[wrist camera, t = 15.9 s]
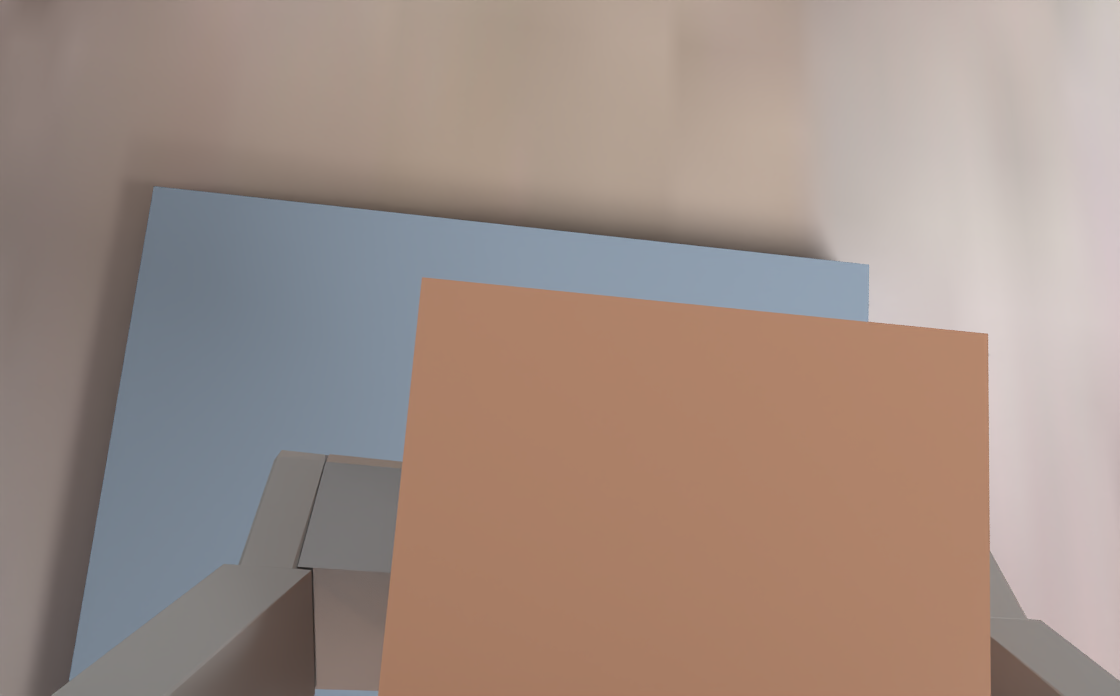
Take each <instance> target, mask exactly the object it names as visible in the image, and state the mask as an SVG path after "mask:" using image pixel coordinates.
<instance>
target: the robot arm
mask: <svg viewBox="0 0 1120 696" xmlns="http://www.w3.org/2000/svg"><path fill="white" fill-rule="evenodd" d="M401 471H402V462H401V461H392V460H382V459H372V458H363V457H353V456H344V455H334V454H330V455H324V454H314V453H305V452H296V451H287V450H281V452H280V453H279V454H278V455H277V457H276V458H275V459H274V462H273V465H272V468H271V471H270V474H269V477H268V479H267V482H266V485H265V488H264V491H263V494H262V497H261V500H260V503H259V506H258V509H257V512H256V515H255V517H254V520H253V523H252V526H251V529H250V532H249V535H248V538H247V541H246V544H245V547H244V550H243V553H242V555H241V558H240V561H239V564H238V565H234V564H223V565H222V566H220V567H219V568H218V569H216V570H215V571H214V572H212V573H211V574H210V575H208V576H207V577H206V578H204V579H203V580H202V581H201V582H199V583H198V584H197V585H195V586H194V587H193V588H191V589H190V590H189V591H187V592H186V593H185V594H183V595H182V596H181V597H180V598H178V599H177V600H176V601H174V602H173V603H172V604H170V605H169V606H168V607H166V608H165V609H164V610H162V611H161V612H160V613H159V614H157V615H156V616H155V617H153V618H152V619H151V620H149V621H148V622H147V623H145V624H144V625H143V626H141V627H140V628H139V629H138V630H136V631H135V632H134V633H132V634H131V635H130V636H128V637H127V638H126V639H124V640H123V641H122V642H120V643H119V644H118V645H117V646H115V647H114V648H113V649H111V650H110V651H109V652H107V653H106V654H105V655H103V656H102V657H101V658H99V659H98V660H97V661H96V662H94V663H93V664H92V665H90V666H89V667H88V668H86V669H85V670H84V671H82V672H81V673H80V674H78V675H77V676H76V677H75V678H73V679H72V680H71V681H69V682H68V683H67V684H65V685H64V686H63V687H61V688H60V689H59V690H57V691H56V692H55V693H54V694H52V695H51V696H314V695H315V689H329V690H362V691H378V690H379V681H380V671H381V662H382V652H383V643H384V633H385V624H386V614H387V605H388V595H389V586H390V576H391V566H392V557H393V547H394V538H395V528H396V519H397V509H398V500H399V490H400V481H401ZM990 657H991V696H1120V681H1119V680H1118V679H1116V678H1115V677H1114V676H1112V675H1111V674H1110V673H1109V672H1107V671H1106V670H1105V669H1103V668H1102V667H1101V666H1099V665H1098V664H1097V663H1096V662H1094V661H1093V660H1092V659H1090V658H1089V657H1088V656H1087V655H1085V654H1084V653H1083V652H1081V651H1080V650H1079V649H1077V648H1076V647H1075V646H1074V645H1072V644H1071V643H1070V642H1068V641H1067V640H1066V639H1064V638H1063V637H1062V636H1061V635H1059V634H1058V633H1057V632H1055V631H1054V630H1053V629H1051V628H1050V627H1049V626H1048V625H1046V624H1045V623H1044V622H1042V621H1041V620H1032V619H1027V617H1026V615H1025V613H1024V612H1023V610H1022V608H1021V606H1020V604H1019V603H1018V601H1017V599H1016V597H1015V595H1014V594H1013V592H1012V590H1011V588H1010V586H1009V584H1008V583H1007V581H1006V579H1005V577H1004V575H1003V574H1002V572H1001V570H1000V568H999V566H998V564H997V563H996V561H995V559H994V557H993V555H992V554H991V552H990Z"/></svg>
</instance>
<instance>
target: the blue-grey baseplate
mask: <svg viewBox="0 0 1120 696" xmlns="http://www.w3.org/2000/svg"><path fill="white" fill-rule="evenodd" d="M422 277H425V278H435V279H445V280H455V281H465V282H475V283H485V284H495V285H505V286H515V287H525V288H535V289H545V290H555V291H565V292H575V293H585V294H595V295H605V296H615V297H625V298H635V299H645V300H655V301H665V302H675V303H685V304H695V305H705V306H715V307H725V308H735V309H745V310H755V311H765V312H775V313H785V314H795V315H805V316H815V317H825V318H835V319H845V320H855V321H865V322H868V302H869V265H867V264H858V263H849V262H840V261H831V260H822V259H812V258H803V257H794V256H785V255H776V254H767V253H758V252H749V251H740V250H730V249H721V248H712V247H703V246H694V245H685V244H676V243H667V242H658V241H649V240H639V239H630V238H621V237H612V236H603V235H594V234H585V233H576V232H567V231H558V230H548V229H539V228H530V227H521V226H512V225H503V224H494V223H485V222H476V221H466V220H457V219H448V218H439V217H430V216H421V215H412V214H403V213H394V212H385V211H375V210H366V209H357V208H348V207H339V206H330V205H321V204H312V203H303V202H293V201H284V200H275V199H266V198H257V197H248V196H239V195H230V194H221V193H212V192H202V191H193V190H184V189H175V188H166V187H157V186H154V188H153V194H152V200H151V206H150V211H149V217H148V223H147V229H146V235H145V241H144V246H143V252H142V258H141V264H140V270H139V275H138V281H137V287H136V293H135V299H134V305H133V310H132V316H131V322H130V328H129V334H128V340H127V345H126V351H125V357H124V363H123V369H122V374H121V380H120V386H119V392H118V398H117V404H116V409H115V415H114V421H113V427H112V433H111V439H110V444H109V450H108V456H107V462H106V468H105V473H104V479H103V485H102V491H101V497H100V503H99V508H98V514H97V520H96V526H95V532H94V538H93V543H92V549H91V555H90V561H89V567H88V572H87V578H86V584H85V590H84V596H83V602H82V607H81V613H80V619H79V625H78V631H77V637H76V642H75V648H74V654H73V660H72V666H71V671H70V677H69V681H71V680H72V679H73V678H75V677H76V676H77V675H78V674H80V673H81V672H82V671H84V670H85V669H86V668H88V667H89V666H90V665H92V664H93V663H94V662H96V661H97V660H98V659H99V658H101V657H102V656H103V655H105V654H106V653H107V652H109V651H110V650H111V649H113V648H114V647H115V646H117V645H118V644H119V643H120V642H122V641H123V640H124V639H126V638H127V637H128V636H130V635H131V634H132V633H134V632H135V631H136V630H138V629H139V628H140V627H141V626H143V625H144V624H145V623H147V622H148V621H149V620H151V619H152V618H153V617H155V616H156V615H157V614H159V613H160V612H161V611H162V610H164V609H165V608H166V607H168V606H169V605H170V604H172V603H173V602H174V601H176V600H177V599H178V598H180V597H181V596H182V595H183V594H185V593H186V592H187V591H189V590H190V589H191V588H193V587H194V586H195V585H197V584H198V583H199V582H201V581H202V580H203V579H204V578H206V577H207V576H208V575H210V574H211V573H212V572H214V571H215V570H216V569H218V568H219V567H220V566H222V565H223V564H234V565H238V564H239V561H240V558H241V555H242V553H243V550H244V547H245V544H246V541H247V538H248V535H249V532H250V529H251V526H252V523H253V520H254V517H255V515H256V512H257V509H258V506H259V503H260V500H261V497H262V494H263V491H264V488H265V485H266V482H267V479H268V477H269V474H270V471H271V468H272V465H273V462H274V459H275V458H276V457H277V455H278V454H279V453H280V452H281V450H287V451H296V452H305V453H314V454H324V455H330V454H334V455H344V456H353V457H363V458H372V459H382V460H392V461H401V462H403V452H404V443H405V433H406V424H407V414H408V405H409V395H410V386H411V376H412V367H413V357H414V348H415V338H416V329H417V319H418V310H419V300H420V291H421V281H422ZM314 696H378V691H362V690H329V689H315V695H314Z"/></svg>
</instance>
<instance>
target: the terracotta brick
mask: <svg viewBox="0 0 1120 696" xmlns="http://www.w3.org/2000/svg"><path fill="white" fill-rule="evenodd" d="M378 696H991V657H990V530H989V404H988V334H985V333H975V332H965V331H955V330H945V329H935V328H925V327H915V326H905V325H895V324H885V323H875V322H865V321H855V320H845V319H835V318H825V317H815V316H805V315H795V314H785V313H775V312H765V311H755V310H745V309H735V308H725V307H715V306H705V305H695V304H685V303H675V302H665V301H655V300H645V299H635V298H625V297H615V296H605V295H595V294H585V293H575V292H565V291H555V290H545V289H535V288H525V287H515V286H505V285H495V284H485V283H475V282H465V281H455V280H445V279H435V278H425V277H422V281H421V291H420V300H419V310H418V319H417V329H416V338H415V348H414V357H413V367H412V376H411V386H410V395H409V405H408V414H407V424H406V433H405V443H404V452H403V462H402V471H401V481H400V490H399V500H398V509H397V519H396V528H395V538H394V547H393V557H392V566H391V576H390V586H389V595H388V605H387V614H386V624H385V633H384V643H383V652H382V662H381V671H380V681H379V690H378Z"/></svg>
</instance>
